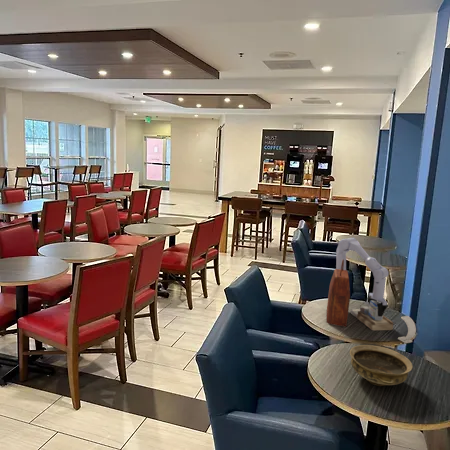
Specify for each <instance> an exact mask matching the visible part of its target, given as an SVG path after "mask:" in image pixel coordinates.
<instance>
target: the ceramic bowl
mask: <svg viewBox="0 0 450 450" xmlns="http://www.w3.org/2000/svg"><path fill="white" fill-rule="evenodd" d="M349 356H350V357H351V359H350V364H351V366H352V369H353V370H354V371H355V373H356V374H358V375H359V376H360V377H362V378H363V379H366V381H367V382H369V383H370V384H371V385H375V386H378V387H385V386H396V385H399V384H402V383H404V382H405V381H406V380H407V379H408V376H409V373H410V372H411V371H412V370H413V363H412V362H411V360H410V359H409V358H407V357H406V356H405V355H403V354H401V353H399V352H397V351H396V350H393V349H390V348H387V347H383V346H379V345H372V344H359V345H355V346H352V347H351V349H350V350H349Z"/></svg>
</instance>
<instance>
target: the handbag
mask: <svg viewBox="0 0 450 450" xmlns="http://www.w3.org/2000/svg"><path fill="white" fill-rule="evenodd" d="M342 266H343V267H344V259H343V260H342V265H341V269H336V268H335V269H334V270H333V274H332V276H331V279H330V283H329V288H328V289H329V290H328V296H327V305H326V321H325V322H326V324H328V325H333V326H340V327H345V328H346V327H347V325H348V316H349V309H350V301H351V290H350V289H351V288H350V277H349V272H348V270H347V269H346V270H343V267H342Z"/></svg>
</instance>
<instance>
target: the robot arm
mask: <svg viewBox="0 0 450 450" xmlns="http://www.w3.org/2000/svg"><path fill="white" fill-rule="evenodd" d="M350 251H351V252H355V253H356V254H358V256H359V257H360V258H361V259H363V261H365V262H364V264H365V266H367V268H368V269H369V270H370V271H371V272H372V275H373V278H374V279H373V288H372V292H369V293H368V297H367V298H366V299H367V302H368V306H369V305H370V301H371V300H375V301H378V302H380V303H381V304H377V306H378V316H384V313H385V311H386V309H387V308H388V307H389V304H388V301H386V299H385V297H384V296H385V288H386V282H387V278H389V277H388V276H389V274H390V272H389V269H387V267H384V266H382V264H380V262H379V261H377V259H376V257H372V256H370V255H369V254H368V253H367V251H366V250H365V248H363V247H362V245H361V244H360V241H358V239H356V238H355V237H349V238H348V237H347V238H342V239H340V240H338V245H337V248H336V251H335V253H336V259H335V260H336V265H335V267H336V268H335V269H341V265H342V260H343V259H344V267H343V266H342V267H343V270H347V253H348V252H350Z"/></svg>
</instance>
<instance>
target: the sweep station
mask: <svg viewBox="0 0 450 450" xmlns="http://www.w3.org/2000/svg"><path fill="white" fill-rule="evenodd" d="M349 312H350V314H351V315H352V316H354V317H355V318H356V319H357V320H358V321H360V322H361V324H362V323H363V324H364V325H365V326H366V327H368V329H370V330H371V331H393V330H394V322H393V321H392V320H391V319H389V318H388V317H386V316H385V315H383V319H382V320H374V319H373V318H372V317H370V316H369V315H367V316H365V315H364V314H362V313H361V312H360V309H350V311H349Z"/></svg>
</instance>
